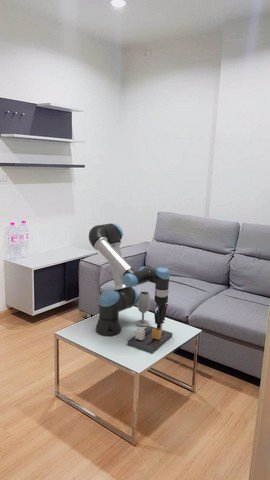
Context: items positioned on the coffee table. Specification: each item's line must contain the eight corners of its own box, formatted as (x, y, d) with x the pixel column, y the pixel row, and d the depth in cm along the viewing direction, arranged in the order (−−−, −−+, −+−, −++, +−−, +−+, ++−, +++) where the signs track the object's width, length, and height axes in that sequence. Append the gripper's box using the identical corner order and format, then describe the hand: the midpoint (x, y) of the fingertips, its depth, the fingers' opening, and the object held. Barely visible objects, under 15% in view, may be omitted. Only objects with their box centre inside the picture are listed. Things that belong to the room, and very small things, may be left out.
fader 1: (135, 338, 205) (135, 329, 204) (138, 336, 207) (138, 327, 206) (141, 340, 203) (142, 331, 201) (144, 338, 205) (145, 329, 204)
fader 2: (151, 337, 206) (152, 329, 205) (154, 335, 209) (154, 327, 208) (158, 339, 204) (158, 331, 203) (160, 337, 207) (161, 329, 206)
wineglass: (148, 327, 225) (150, 296, 220) (134, 325, 226) (136, 294, 222) (150, 321, 233) (152, 291, 228) (137, 320, 235) (138, 289, 230)
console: (127, 344, 203) (127, 340, 202) (148, 329, 223) (149, 325, 222) (152, 353, 195) (152, 349, 194) (172, 336, 215) (172, 332, 214)
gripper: (162, 300, 197) (159, 340, 202) (172, 293, 208) (170, 331, 213) (150, 297, 201) (147, 336, 206) (160, 290, 212) (158, 327, 217)
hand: (159, 333), depth 209 cm, fingers closed
